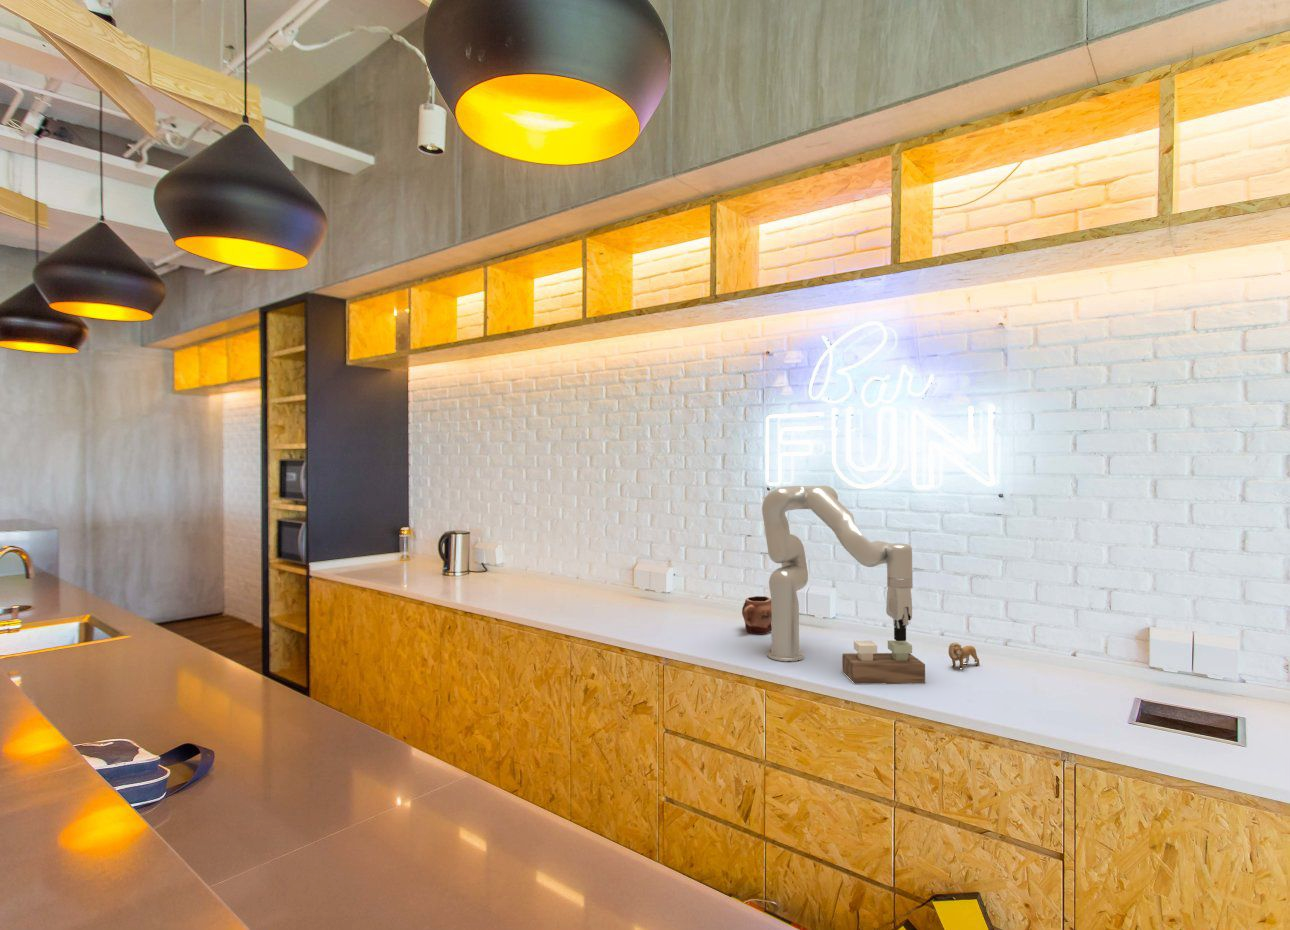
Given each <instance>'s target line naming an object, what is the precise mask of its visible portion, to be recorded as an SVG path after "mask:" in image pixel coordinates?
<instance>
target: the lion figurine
mask: <svg viewBox="0 0 1290 930" xmlns="http://www.w3.org/2000/svg"><path fill="white" fill-rule="evenodd" d="M977 655H978V654H977V651H976V648H975V647H974V646H972V645H966V646H963V647H962V645H961V644H959V643H957V642H952V643H950V644H949V645H948V656H949V657H950V659H951V661H952V665H951V666H952V667H955V668H956V663H957V662H958V661H959V668H963V669H964V666H963V665H964V664H963V663H967V664H968V663H969V661H970V656H971V657H972V658H973V660H974V663H975V664H976V665H979V666H980V659H979V657H978V656H977ZM964 660H965V661H964ZM976 665H975V666H976ZM952 667H951V668H952Z"/></svg>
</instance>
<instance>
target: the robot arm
mask: <svg viewBox="0 0 1290 930" xmlns="http://www.w3.org/2000/svg"><path fill="white" fill-rule="evenodd" d="M761 507H762V508H761V513H762V514H761V515H762V518H763V525H764V533H765V540H766V545H767V546H766V547H767V552H768V553H767V554H768V556H769V559H770V560H771V561H772V562H774V563H776V564H781V567H778V568H776V569H775V570H773V571H772V573H771V574H770V577H769V578H768V579H769V581H768V585H769V593H770V599H771V613H772V621H771V627H772V631H771V649H769V650H768V651H767V652H766V654H767V655H766V656H767V657H768V658H769V659H771V660H774V661H777V662H778V661H779V662H787V661H791V662H798V660H799V661H801V660H803V659H804V657H805V655H804V653H803V652H802V651H800V604H799V599H798V595H797V594H798V592H797V591H800V590H802V589H803V588H805V587H806V585H807V584H808V580H809V572H808V566H807V565H808V564H807V559H806V558H807V557H806V553H805V552H806V551H805V547H804V544H803V542H802V541H801V539H800V538H799V537H798V536H796V535H794V534H791V531H790V524H789V521H788V518H787V516H786V513H787V512H788V511H793V510H811V511H812V512H813V513H814V514H815V515H816V516H817V517H818V518H819V519H820V520H821V521H822V522H824V523H825V525H827V526H828V528H830V529H831V530H832V532H834V535H835V537H836V539H838V541H839V543H840V544H841V546H842V547H843V548H844V549H845V551H847V553H849V555H850V556H851V557H852V558H854V559H855V560H856V561H857V562H858V563H859V564H860V565H862V566H864V567H866V568H873V567H874V568H875V567H877V566H879V565H883V564H886V582H887V583H886V585H887V586H886V587H887V590H886V608H885V609H886V610H885V611H886V615H887V616H889V617H890V618H892V619H893V620H892V621H893V627H894V628H893V636H894V637H893V639H894V641H906V642H907V626H909V624H910V623H909V621H911V620H912V619H913V602H912V601H913V597H912V590H911V589H913V548H912V546H911V545H910V544H909V543H908V544H907V543H902V542H901V543H900V542H898V543H890V542H885V541H880V540H874V541H870V540H868V539H867V538H866V537H865V535H863V534H862V532H860V530H859V529H858V527H857V525H856V523H855V518H854V514H853V513H852V512H851V511H850V510H849V509H847V508H846V506H845V505H843V504H842V502H840V501H839V497H838V492H836V490H835V489H834V488H833V487H831V486H830V485H829V486H828V485H792V486H791V485H790V486H789V485H788V486H787V485H786V486H781V487H777V488H775V489H773V490H771V491H770V492H768V494H767V495H766V496H765V497H764V500H763V501H762V506H761Z"/></svg>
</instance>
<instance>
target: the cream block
mask: <svg viewBox="0 0 1290 930" xmlns="http://www.w3.org/2000/svg"><path fill="white" fill-rule="evenodd" d="M853 650H854V651H856V652H857V653H858V659H859V660H860V661H873V654H877V653H878V645H877V644H876V643H875V642H873V640H853Z"/></svg>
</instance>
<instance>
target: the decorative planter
mask: <svg viewBox="0 0 1290 930" xmlns="http://www.w3.org/2000/svg"><path fill="white" fill-rule="evenodd" d="M741 615H742V617H743V620H744V621H743V622H744V625H745V630H746V632H747V633H749V632H750V633H749V634H753V633H755V635H764V634H765V633H766V634H770V633H772V613H771V597H769V596H759V595H758V596H757V595H755V596H750V597H746V599H745V601H744V604H743V606H742V609H741ZM766 634H765V635H766Z"/></svg>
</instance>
